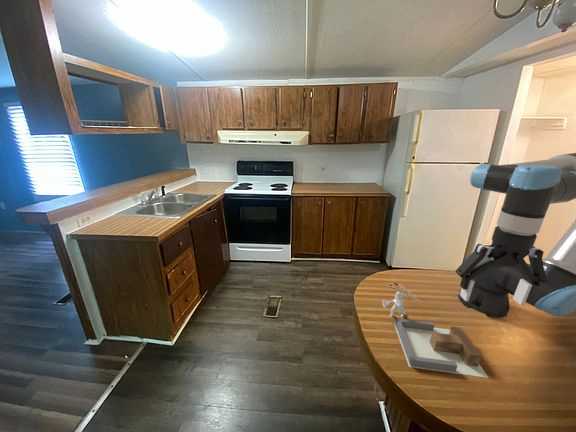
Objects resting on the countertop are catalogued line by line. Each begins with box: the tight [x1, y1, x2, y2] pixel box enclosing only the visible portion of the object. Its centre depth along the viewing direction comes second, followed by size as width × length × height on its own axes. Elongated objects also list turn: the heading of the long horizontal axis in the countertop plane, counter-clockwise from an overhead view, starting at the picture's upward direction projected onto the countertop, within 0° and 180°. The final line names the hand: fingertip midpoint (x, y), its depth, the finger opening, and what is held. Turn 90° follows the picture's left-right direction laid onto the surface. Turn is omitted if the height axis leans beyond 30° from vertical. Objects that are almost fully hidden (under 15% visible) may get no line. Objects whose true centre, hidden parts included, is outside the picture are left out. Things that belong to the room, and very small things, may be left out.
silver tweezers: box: [389, 282, 423, 304], centre depth 94 cm, size 17×5×2 cm, turn 29°
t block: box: [430, 325, 482, 367], centre depth 69 cm, size 10×10×4 cm
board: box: [393, 318, 489, 379], centre depth 70 cm, size 20×16×3 cm
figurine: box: [381, 290, 407, 317], centre depth 80 cm, size 5×9×12 cm, turn 109°
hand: (490, 300), depth 63 cm, fingers open, 13 cm apart
